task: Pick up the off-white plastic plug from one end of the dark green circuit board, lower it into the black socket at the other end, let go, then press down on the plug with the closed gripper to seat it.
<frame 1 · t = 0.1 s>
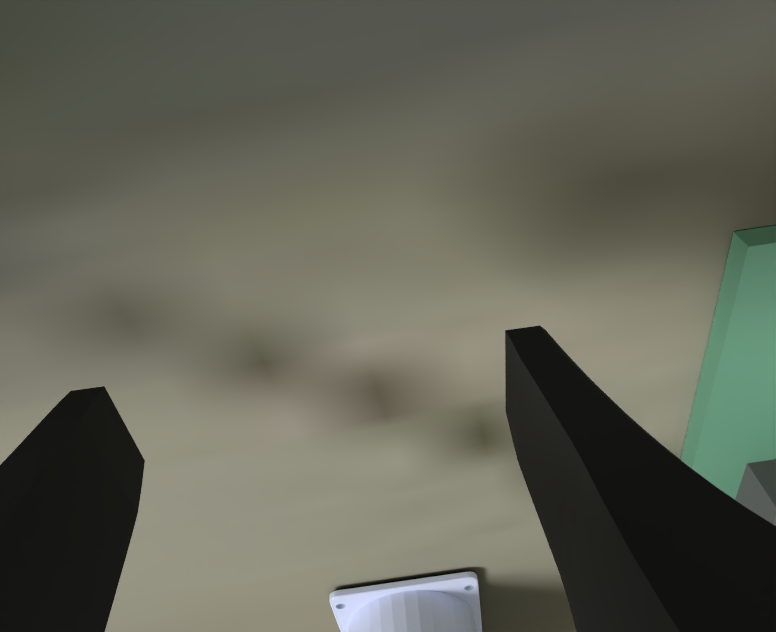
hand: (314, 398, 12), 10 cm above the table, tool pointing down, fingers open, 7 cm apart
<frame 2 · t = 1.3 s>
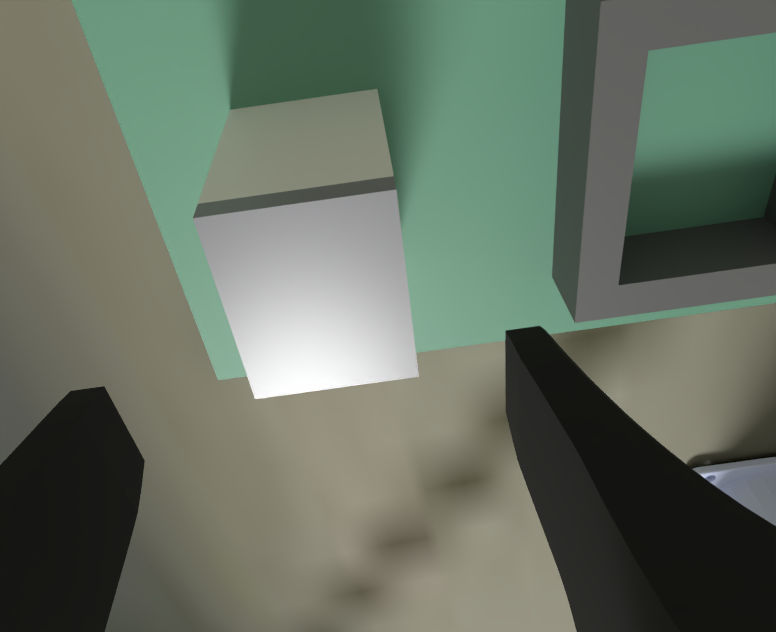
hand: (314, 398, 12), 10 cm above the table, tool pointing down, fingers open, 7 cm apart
board: (516, 141, 19), on the table
plug: (320, 183, 19), point 1 cm above the table, touching board
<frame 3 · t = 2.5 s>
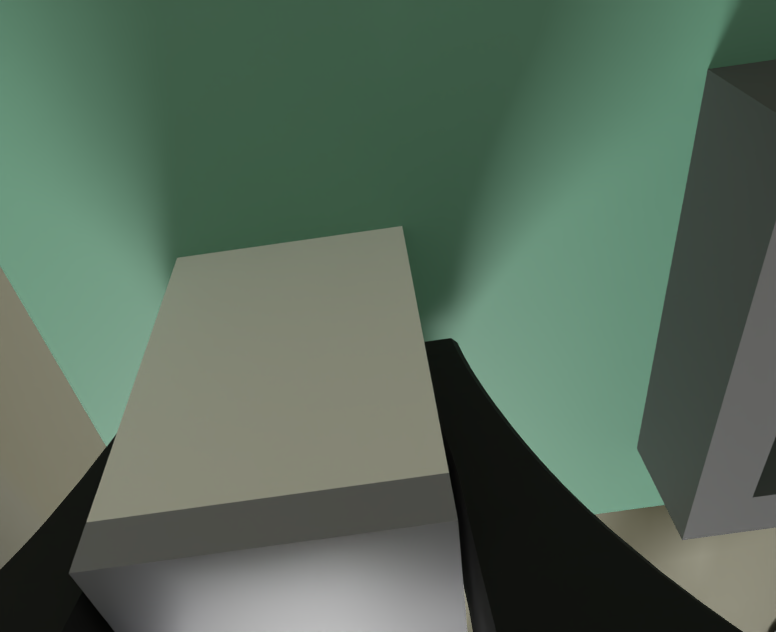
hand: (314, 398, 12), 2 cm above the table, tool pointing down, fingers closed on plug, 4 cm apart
board: (597, 278, 13), on the table
plug: (315, 348, 13), point 1 cm above the table, touching board, gripper
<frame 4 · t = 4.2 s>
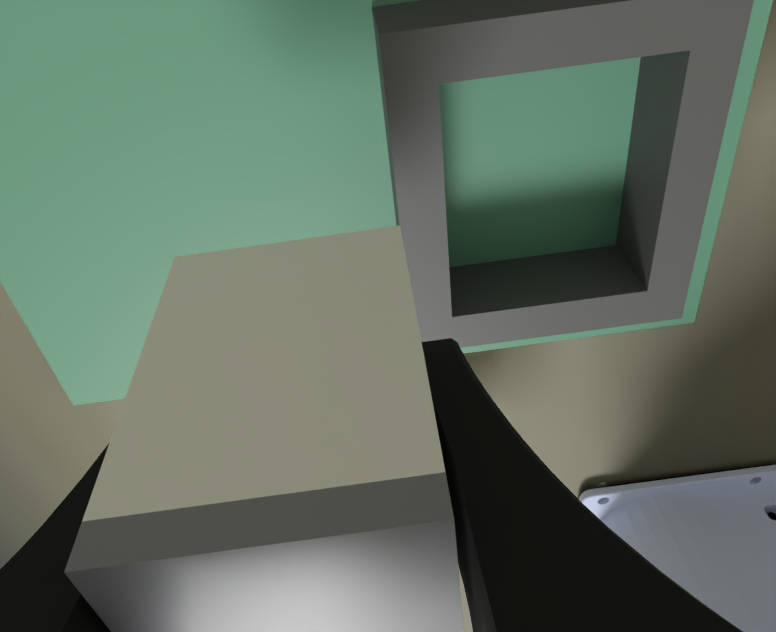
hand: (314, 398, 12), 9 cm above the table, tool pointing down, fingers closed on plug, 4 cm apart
board: (354, 167, 19), on the table
plug: (313, 348, 13), point 8 cm above the table, touching gripper
when the fingers open (5 cm above the table, at t = 5.9 s): plug drops 2 cm, resting on board.
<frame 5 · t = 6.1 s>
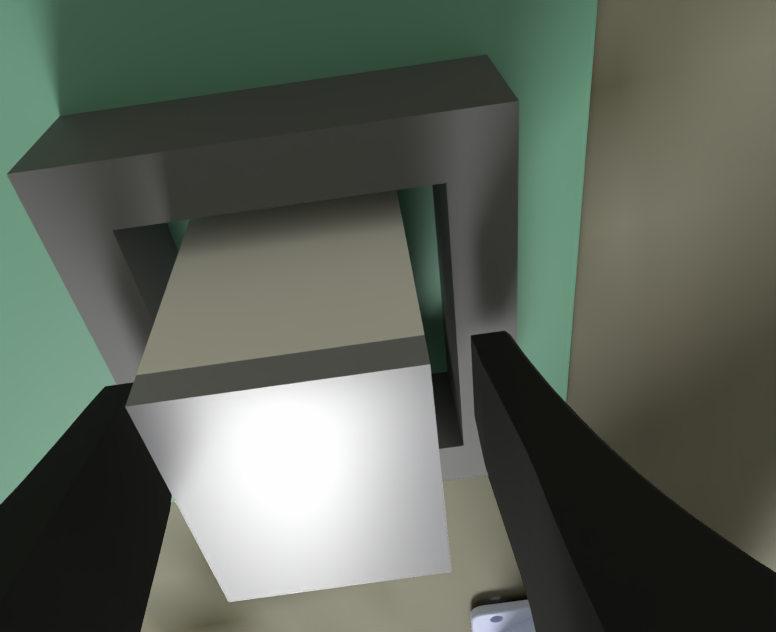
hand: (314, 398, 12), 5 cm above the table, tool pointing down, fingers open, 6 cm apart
board: (112, 288, 15), on the table
plug: (317, 281, 15), point 1 cm above the table, touching board
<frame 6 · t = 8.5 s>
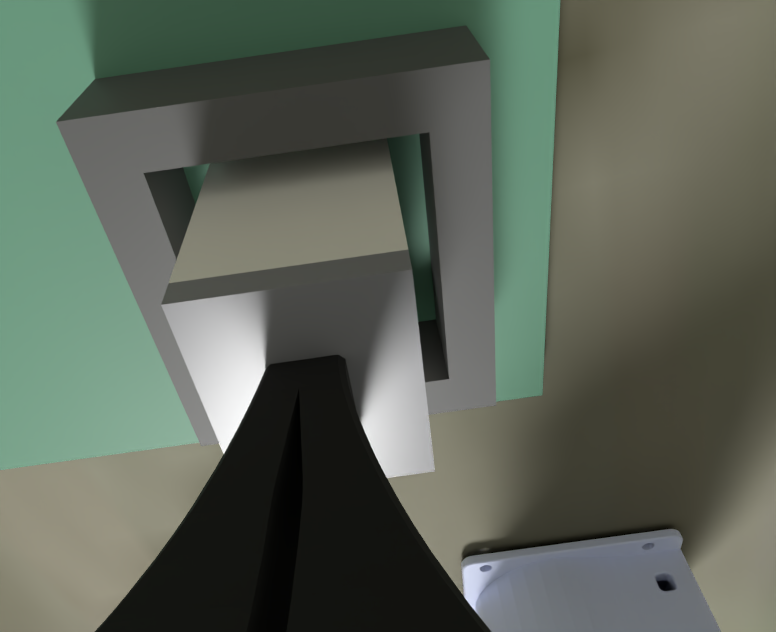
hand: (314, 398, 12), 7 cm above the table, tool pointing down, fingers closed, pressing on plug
board: (135, 241, 17), on the table
plug: (318, 232, 16), point 1 cm above the table, touching board, gripper
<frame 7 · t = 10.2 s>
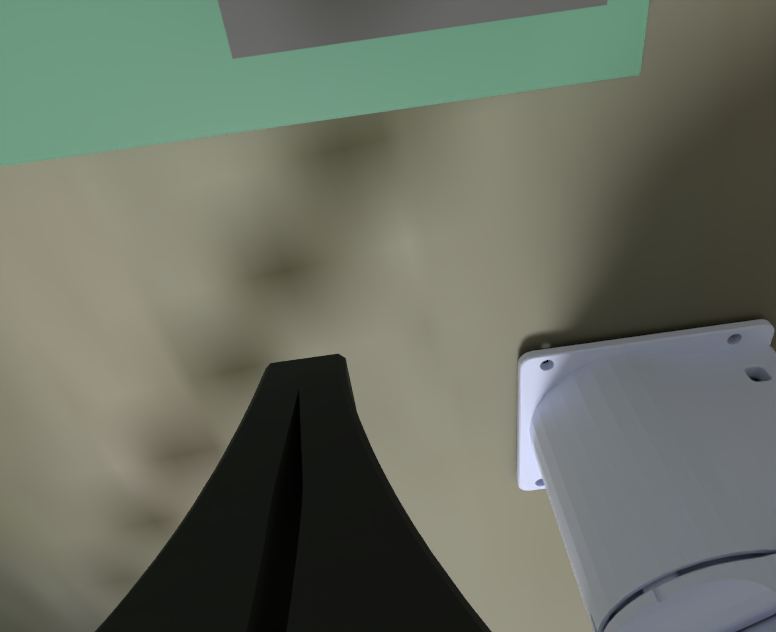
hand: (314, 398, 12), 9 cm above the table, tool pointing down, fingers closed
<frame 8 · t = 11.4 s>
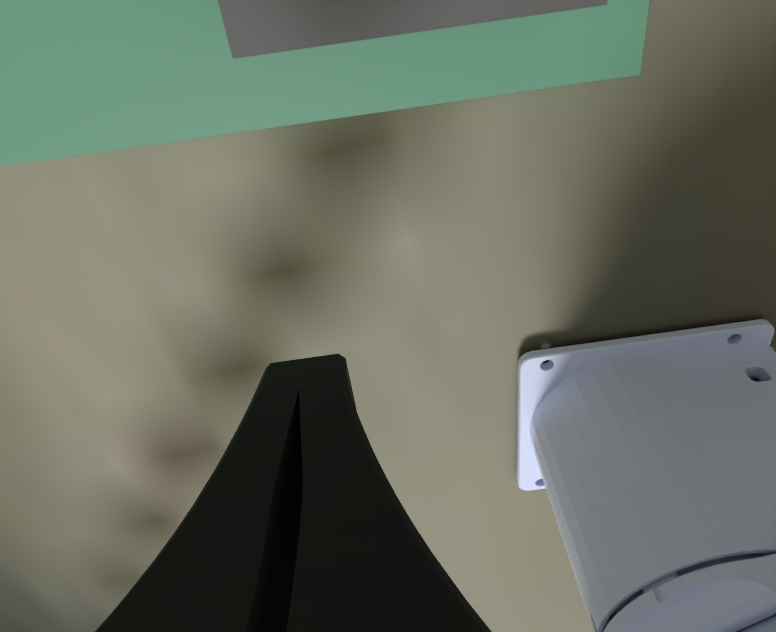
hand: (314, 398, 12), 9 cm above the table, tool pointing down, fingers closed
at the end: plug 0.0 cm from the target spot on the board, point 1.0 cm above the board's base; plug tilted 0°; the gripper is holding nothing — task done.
